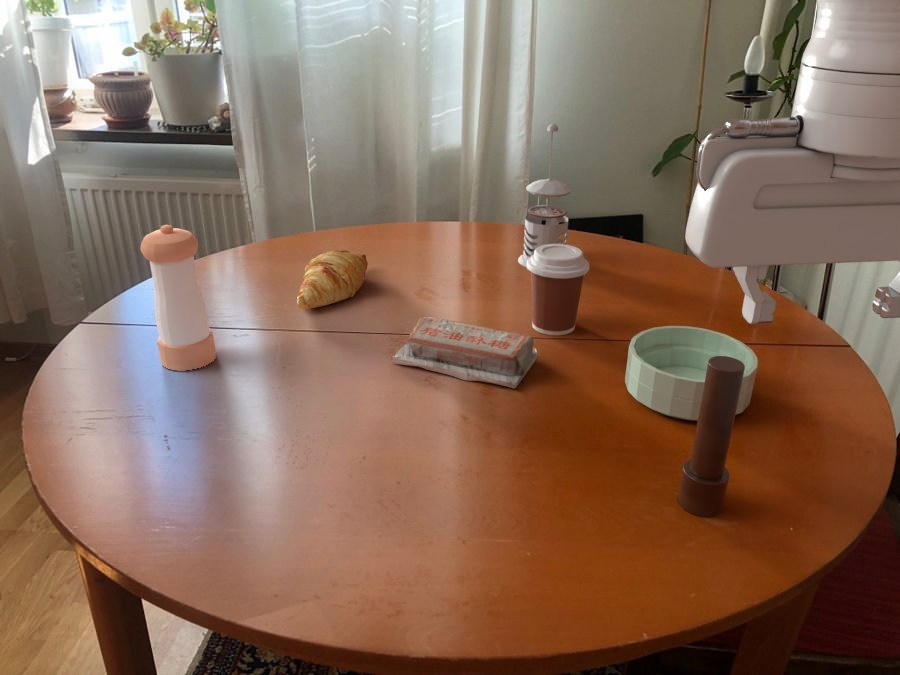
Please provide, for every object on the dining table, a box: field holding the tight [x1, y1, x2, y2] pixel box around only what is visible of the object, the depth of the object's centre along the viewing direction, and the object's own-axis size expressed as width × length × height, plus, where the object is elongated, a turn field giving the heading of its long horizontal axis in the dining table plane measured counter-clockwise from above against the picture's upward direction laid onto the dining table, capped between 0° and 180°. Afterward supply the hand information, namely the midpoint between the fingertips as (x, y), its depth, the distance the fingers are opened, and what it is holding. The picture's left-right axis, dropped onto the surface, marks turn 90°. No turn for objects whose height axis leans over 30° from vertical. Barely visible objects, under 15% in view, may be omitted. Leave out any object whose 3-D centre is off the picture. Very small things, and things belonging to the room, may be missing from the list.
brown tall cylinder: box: [677, 356, 745, 518], centre depth 72 cm, size 4×4×16 cm
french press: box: [517, 123, 573, 268], centre depth 134 cm, size 10×12×25 cm
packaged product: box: [391, 316, 539, 389], centre depth 101 cm, size 18×5×10 cm
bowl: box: [624, 325, 759, 422], centre depth 93 cm, size 15×15×6 cm
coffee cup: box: [526, 243, 590, 336], centre depth 110 cm, size 9×9×12 cm
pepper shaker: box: [139, 224, 217, 372], centre depth 98 cm, size 7×7×19 cm
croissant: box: [296, 249, 369, 310], centre depth 124 cm, size 21×10×8 cm, turn 160°
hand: (822, 317), depth 52 cm, fingers open, 8 cm apart
